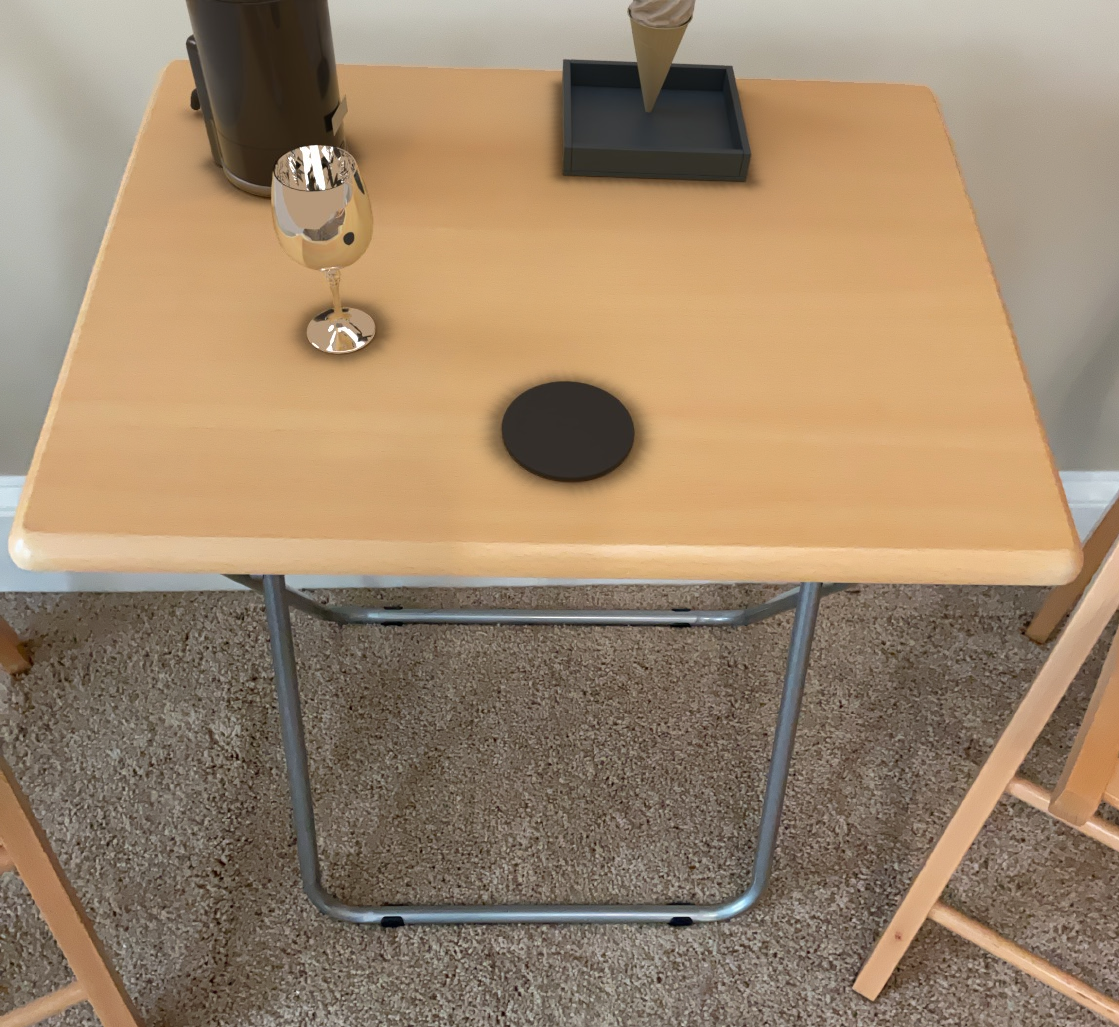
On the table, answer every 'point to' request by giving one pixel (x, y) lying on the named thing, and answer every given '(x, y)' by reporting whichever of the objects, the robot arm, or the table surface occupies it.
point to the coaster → (567, 431)
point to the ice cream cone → (657, 40)
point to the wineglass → (325, 232)
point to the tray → (652, 123)
